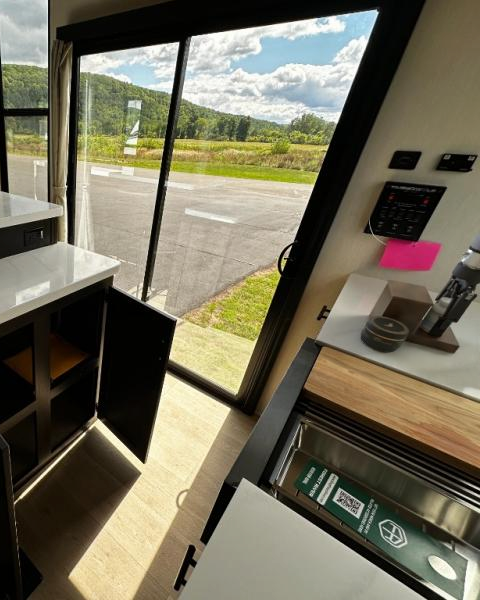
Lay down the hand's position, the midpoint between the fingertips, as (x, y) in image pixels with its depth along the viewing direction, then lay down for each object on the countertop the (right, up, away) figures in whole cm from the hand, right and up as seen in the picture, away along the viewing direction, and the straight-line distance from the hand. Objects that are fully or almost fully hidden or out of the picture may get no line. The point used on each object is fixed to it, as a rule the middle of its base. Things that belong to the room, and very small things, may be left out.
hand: (431, 329), depth 103 cm
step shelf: (-4, -2, +4) cm, 6 cm away
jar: (-18, -5, 0) cm, 18 cm away
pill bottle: (0, 0, 0) cm, 1 cm away
